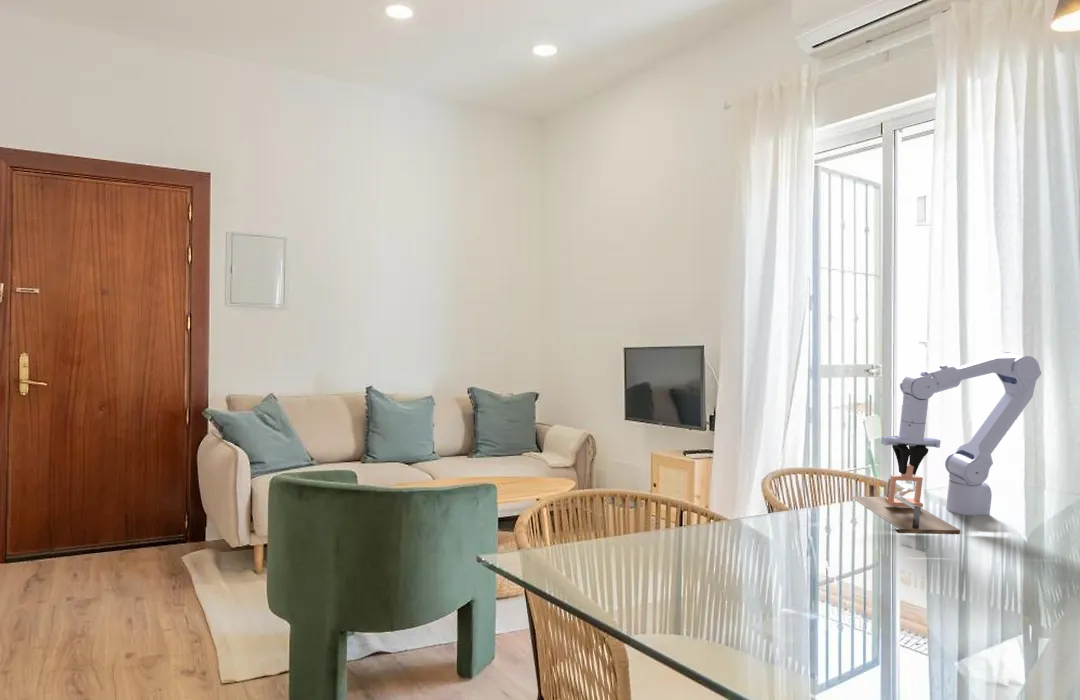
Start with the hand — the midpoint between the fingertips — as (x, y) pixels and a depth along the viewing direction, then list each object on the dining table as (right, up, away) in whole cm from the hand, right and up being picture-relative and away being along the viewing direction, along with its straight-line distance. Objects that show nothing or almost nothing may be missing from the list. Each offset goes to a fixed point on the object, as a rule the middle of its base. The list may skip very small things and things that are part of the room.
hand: (907, 473), depth 192 cm
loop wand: (-1, -8, +1) cm, 8 cm away
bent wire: (-3, -11, -2) cm, 11 cm away
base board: (-3, -11, -2) cm, 11 cm away
